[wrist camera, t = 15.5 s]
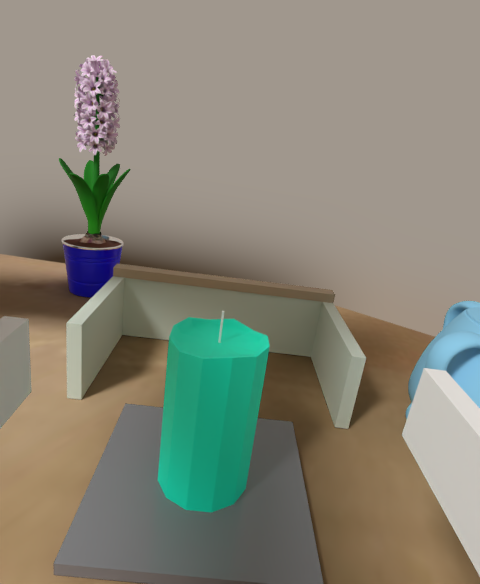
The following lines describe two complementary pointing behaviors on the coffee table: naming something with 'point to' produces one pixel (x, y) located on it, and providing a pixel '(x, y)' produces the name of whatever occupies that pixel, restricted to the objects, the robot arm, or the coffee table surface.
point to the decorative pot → (454, 351)
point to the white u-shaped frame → (209, 305)
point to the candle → (210, 411)
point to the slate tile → (191, 517)
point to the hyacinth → (94, 180)
